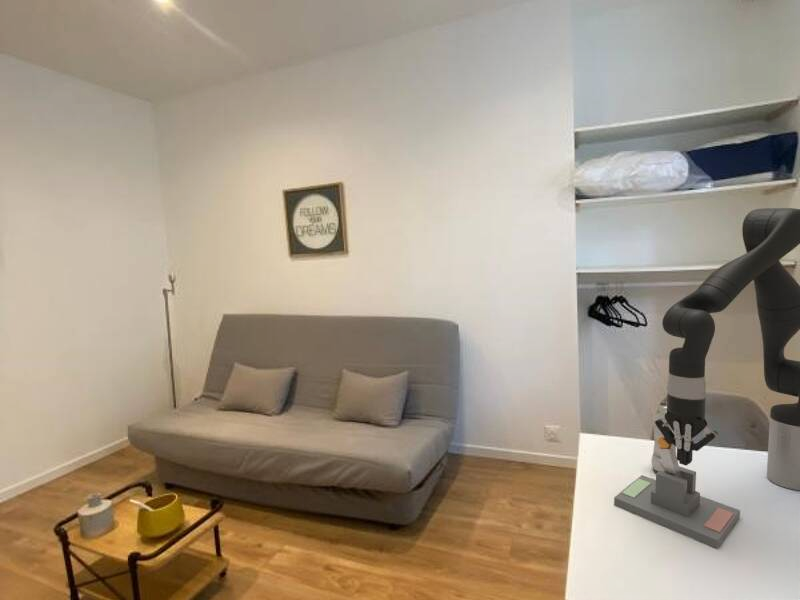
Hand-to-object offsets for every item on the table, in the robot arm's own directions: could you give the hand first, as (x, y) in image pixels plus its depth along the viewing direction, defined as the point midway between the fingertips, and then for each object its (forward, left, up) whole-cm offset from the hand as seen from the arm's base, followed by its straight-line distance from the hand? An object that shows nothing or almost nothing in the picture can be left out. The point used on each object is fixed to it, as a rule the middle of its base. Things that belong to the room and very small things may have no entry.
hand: (684, 463), depth 104 cm
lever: (0, -1, -7) cm, 7 cm away
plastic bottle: (-18, -11, -13) cm, 25 cm away
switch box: (0, -2, -13) cm, 13 cm away
